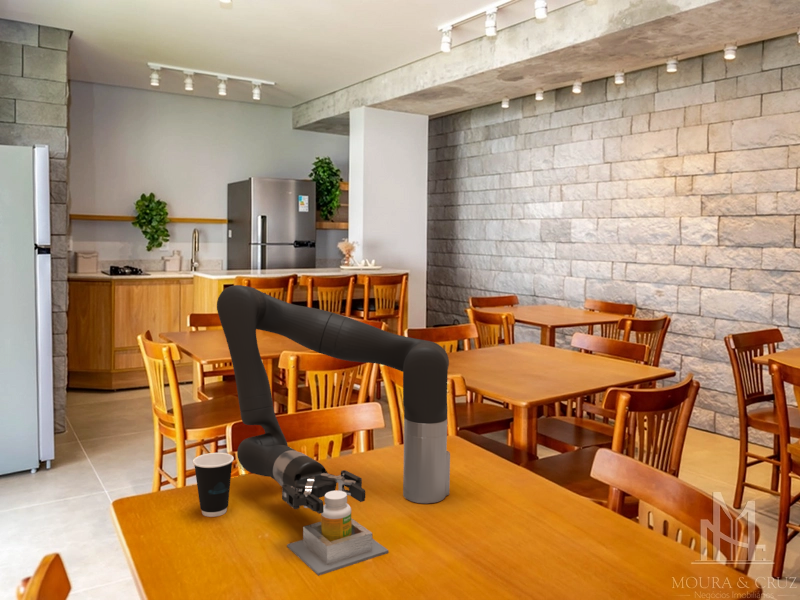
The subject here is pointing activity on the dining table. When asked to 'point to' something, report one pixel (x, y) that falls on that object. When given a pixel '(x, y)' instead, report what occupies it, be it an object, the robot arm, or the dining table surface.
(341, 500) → the supplement bottle
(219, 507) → the dixie cup
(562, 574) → the dining table surface
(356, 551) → the socket board
